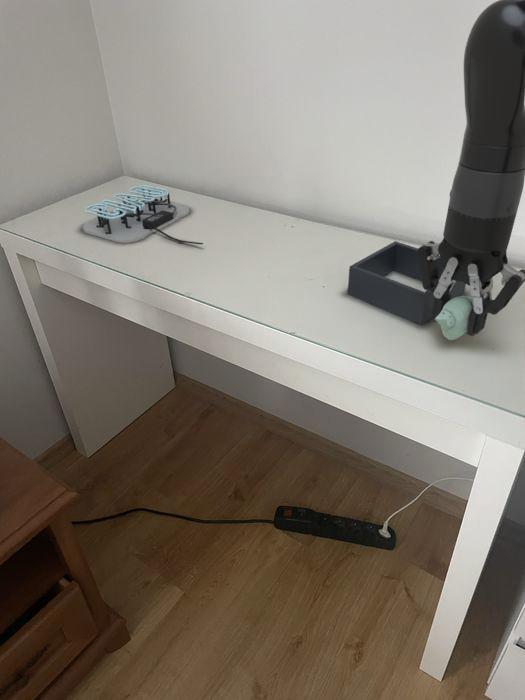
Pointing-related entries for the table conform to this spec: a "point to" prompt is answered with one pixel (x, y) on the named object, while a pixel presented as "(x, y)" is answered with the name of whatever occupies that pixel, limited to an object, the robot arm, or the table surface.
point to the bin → (395, 282)
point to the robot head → (455, 317)
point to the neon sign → (135, 216)
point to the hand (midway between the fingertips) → (455, 326)
